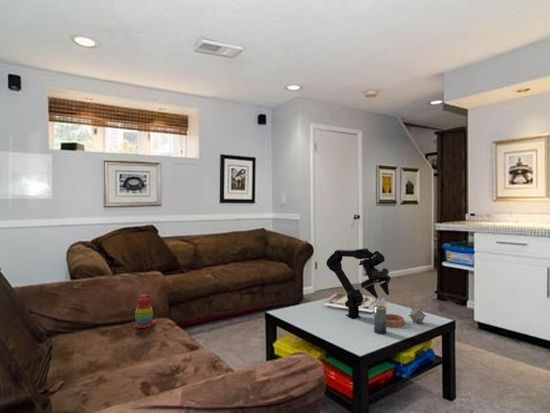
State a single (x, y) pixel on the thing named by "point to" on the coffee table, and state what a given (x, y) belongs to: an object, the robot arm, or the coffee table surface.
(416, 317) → the grey spiky ball
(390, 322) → the bowl
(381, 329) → the canister
